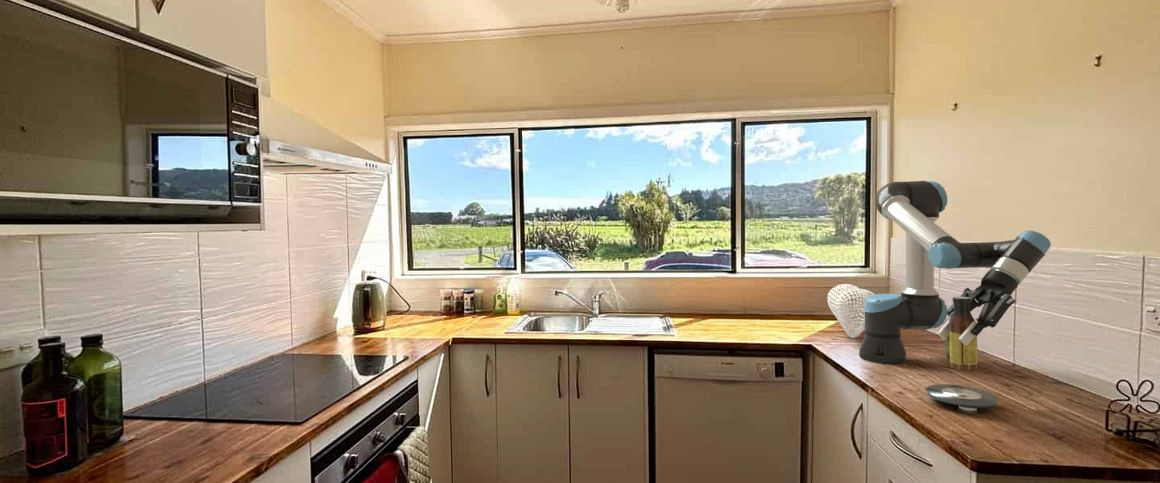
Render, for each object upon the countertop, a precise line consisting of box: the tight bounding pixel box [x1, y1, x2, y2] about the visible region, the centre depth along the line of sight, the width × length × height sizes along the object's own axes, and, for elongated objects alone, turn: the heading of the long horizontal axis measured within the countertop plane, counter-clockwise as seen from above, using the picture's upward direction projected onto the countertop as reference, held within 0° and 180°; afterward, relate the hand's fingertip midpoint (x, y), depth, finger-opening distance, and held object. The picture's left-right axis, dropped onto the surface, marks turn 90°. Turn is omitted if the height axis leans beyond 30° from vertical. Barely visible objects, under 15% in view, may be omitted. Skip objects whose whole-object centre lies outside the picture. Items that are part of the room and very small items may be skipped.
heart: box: [826, 283, 876, 339], centre depth 221 cm, size 28×16×22 cm, turn 172°
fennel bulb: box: [944, 336, 950, 360], centre depth 187 cm, size 6×5×12 cm
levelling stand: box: [926, 383, 999, 415], centre depth 144 cm, size 16×16×3 cm
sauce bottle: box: [949, 295, 979, 372], centre depth 143 cm, size 7×6×20 cm
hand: (951, 339), depth 142 cm, fingers closed on sauce bottle, 6 cm apart
